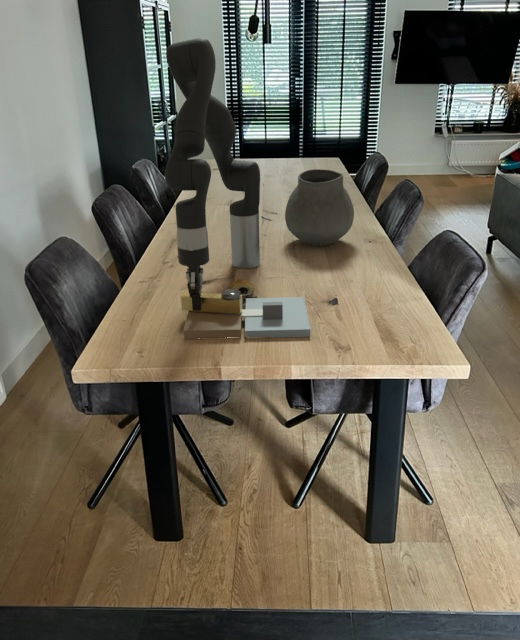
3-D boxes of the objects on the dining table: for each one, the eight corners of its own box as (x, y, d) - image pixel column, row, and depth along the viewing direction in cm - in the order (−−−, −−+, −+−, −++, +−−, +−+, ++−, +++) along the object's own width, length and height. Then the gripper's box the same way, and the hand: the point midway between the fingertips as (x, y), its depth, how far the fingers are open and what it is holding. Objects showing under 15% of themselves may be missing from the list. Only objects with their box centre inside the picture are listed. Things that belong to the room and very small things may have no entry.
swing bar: (243, 307, 150) (242, 289, 147) (239, 315, 145) (238, 297, 143) (186, 304, 152) (185, 286, 150) (180, 311, 148) (179, 294, 146)
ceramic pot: (273, 248, 202) (272, 177, 192) (301, 229, 222) (301, 164, 211) (338, 257, 192) (341, 182, 181) (361, 237, 211) (365, 169, 200)
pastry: (228, 286, 171) (228, 274, 170) (251, 284, 172) (250, 273, 170) (231, 298, 163) (231, 286, 161) (255, 296, 164) (255, 284, 162)
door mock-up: (192, 306, 158) (190, 286, 155) (303, 303, 158) (304, 283, 155) (184, 339, 140) (182, 317, 137) (310, 336, 140) (310, 314, 137)
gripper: (180, 236, 144) (185, 300, 151) (173, 252, 132) (179, 320, 139) (210, 236, 144) (213, 299, 151) (206, 251, 132) (210, 319, 139)
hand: (197, 309), depth 145 cm, fingers closed
